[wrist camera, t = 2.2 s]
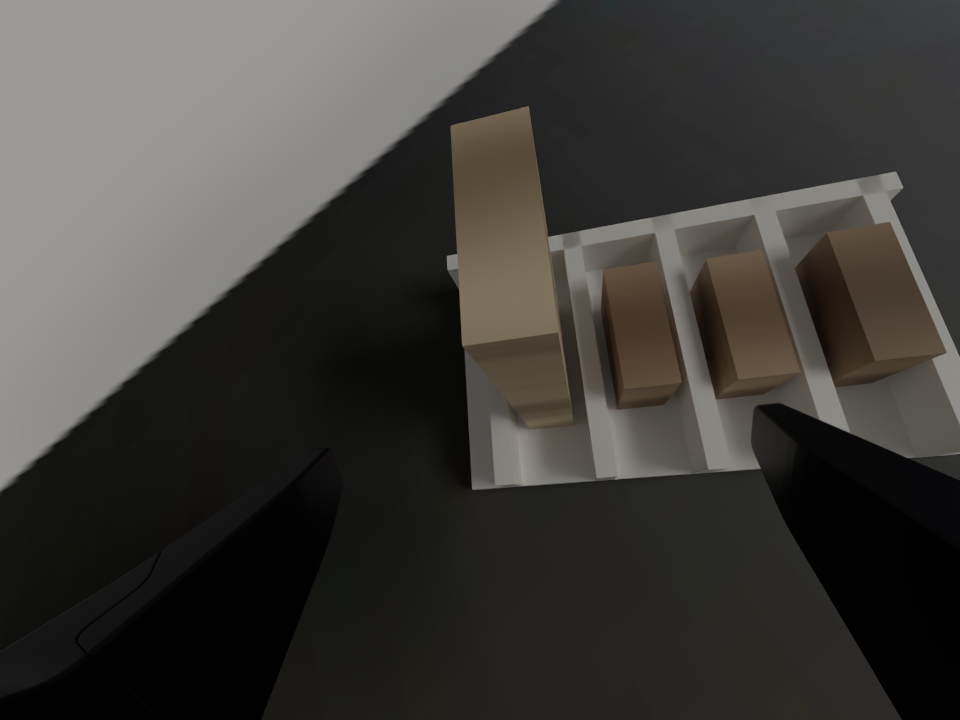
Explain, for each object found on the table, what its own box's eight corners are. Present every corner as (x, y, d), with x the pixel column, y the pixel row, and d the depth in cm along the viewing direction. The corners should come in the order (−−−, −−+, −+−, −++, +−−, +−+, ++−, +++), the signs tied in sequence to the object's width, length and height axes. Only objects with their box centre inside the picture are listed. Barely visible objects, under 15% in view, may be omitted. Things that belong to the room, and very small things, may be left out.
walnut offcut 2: (762, 394, 18) (800, 372, 15) (712, 399, 19) (738, 379, 15) (733, 290, 20) (761, 249, 17) (687, 296, 20) (706, 258, 17)
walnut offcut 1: (663, 404, 19) (682, 382, 15) (617, 409, 19) (624, 389, 16) (642, 303, 21) (655, 261, 17) (600, 310, 21) (603, 270, 17)
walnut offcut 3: (870, 383, 17) (947, 352, 14) (815, 388, 18) (875, 360, 14) (831, 275, 19) (890, 221, 15) (781, 282, 19) (827, 232, 16)
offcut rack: (943, 455, 17) (1022, 446, 14) (476, 489, 21) (457, 488, 18) (849, 220, 20) (895, 171, 17) (464, 286, 24) (446, 256, 21)
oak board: (574, 425, 20) (558, 332, 9) (530, 429, 20) (462, 346, 9) (558, 307, 22) (528, 106, 11) (519, 313, 22) (450, 126, 11)
